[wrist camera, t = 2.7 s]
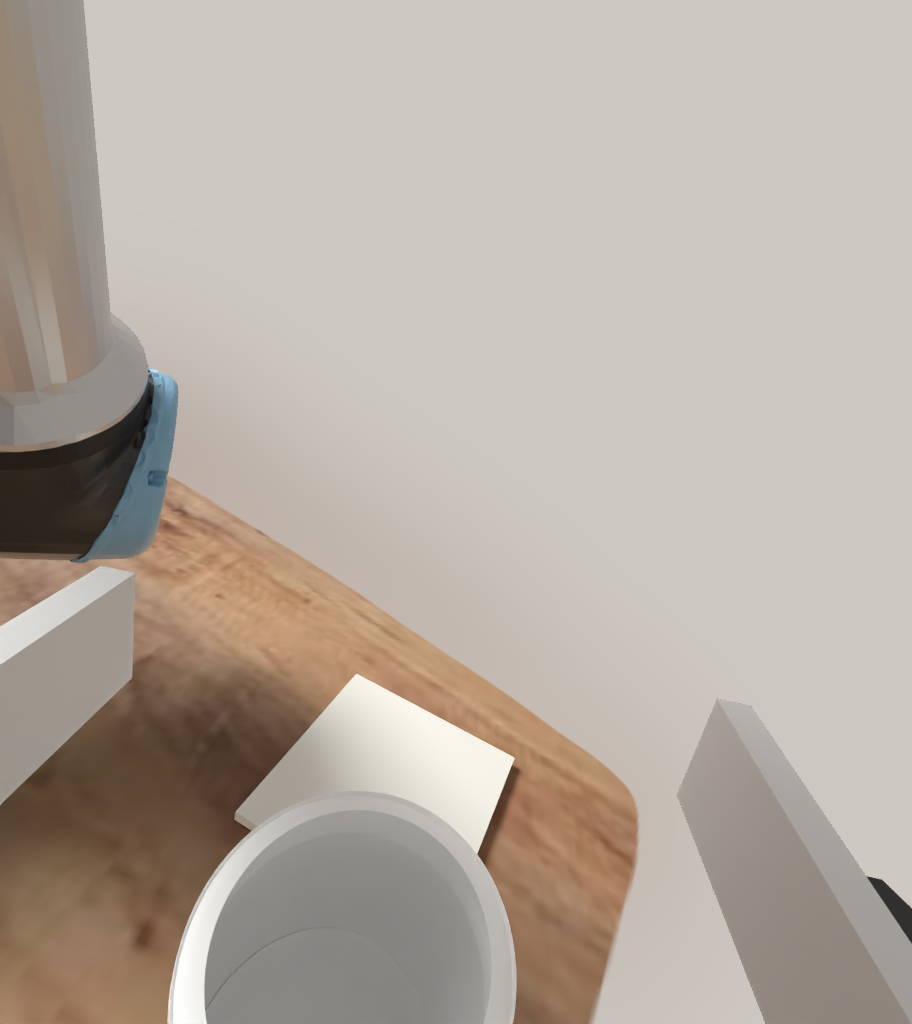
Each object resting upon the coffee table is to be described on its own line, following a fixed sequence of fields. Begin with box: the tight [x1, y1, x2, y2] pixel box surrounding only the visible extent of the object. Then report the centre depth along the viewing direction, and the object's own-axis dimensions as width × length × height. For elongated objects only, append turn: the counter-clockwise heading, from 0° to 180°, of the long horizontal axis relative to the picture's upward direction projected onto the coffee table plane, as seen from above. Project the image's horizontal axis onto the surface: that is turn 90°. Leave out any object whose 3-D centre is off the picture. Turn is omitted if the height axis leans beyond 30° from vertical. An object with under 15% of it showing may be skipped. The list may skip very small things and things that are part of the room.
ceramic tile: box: [234, 674, 514, 854], centre depth 39 cm, size 14×14×1 cm
